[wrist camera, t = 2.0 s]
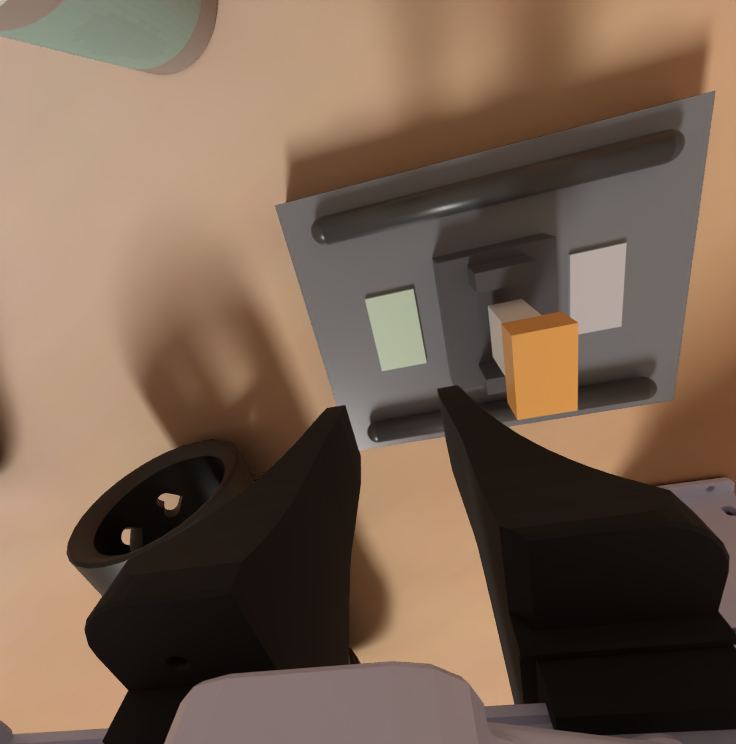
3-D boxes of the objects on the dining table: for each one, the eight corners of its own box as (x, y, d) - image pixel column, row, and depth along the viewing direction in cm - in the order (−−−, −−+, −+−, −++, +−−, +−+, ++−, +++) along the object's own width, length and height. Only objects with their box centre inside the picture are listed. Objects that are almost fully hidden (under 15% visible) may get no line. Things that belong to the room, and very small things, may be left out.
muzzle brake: (267, 414, 24) (195, 553, 15) (385, 654, 36) (384, 816, 27) (143, 445, 26) (8, 587, 17) (293, 665, 38) (262, 822, 28)
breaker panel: (679, 101, 16) (794, 67, 12) (650, 383, 22) (718, 434, 17) (285, 203, 19) (252, 208, 14) (353, 432, 25) (345, 488, 20)
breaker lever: (528, 287, 16) (578, 322, 11) (531, 357, 17) (577, 410, 13) (479, 298, 16) (511, 335, 12) (486, 365, 17) (517, 420, 13)
